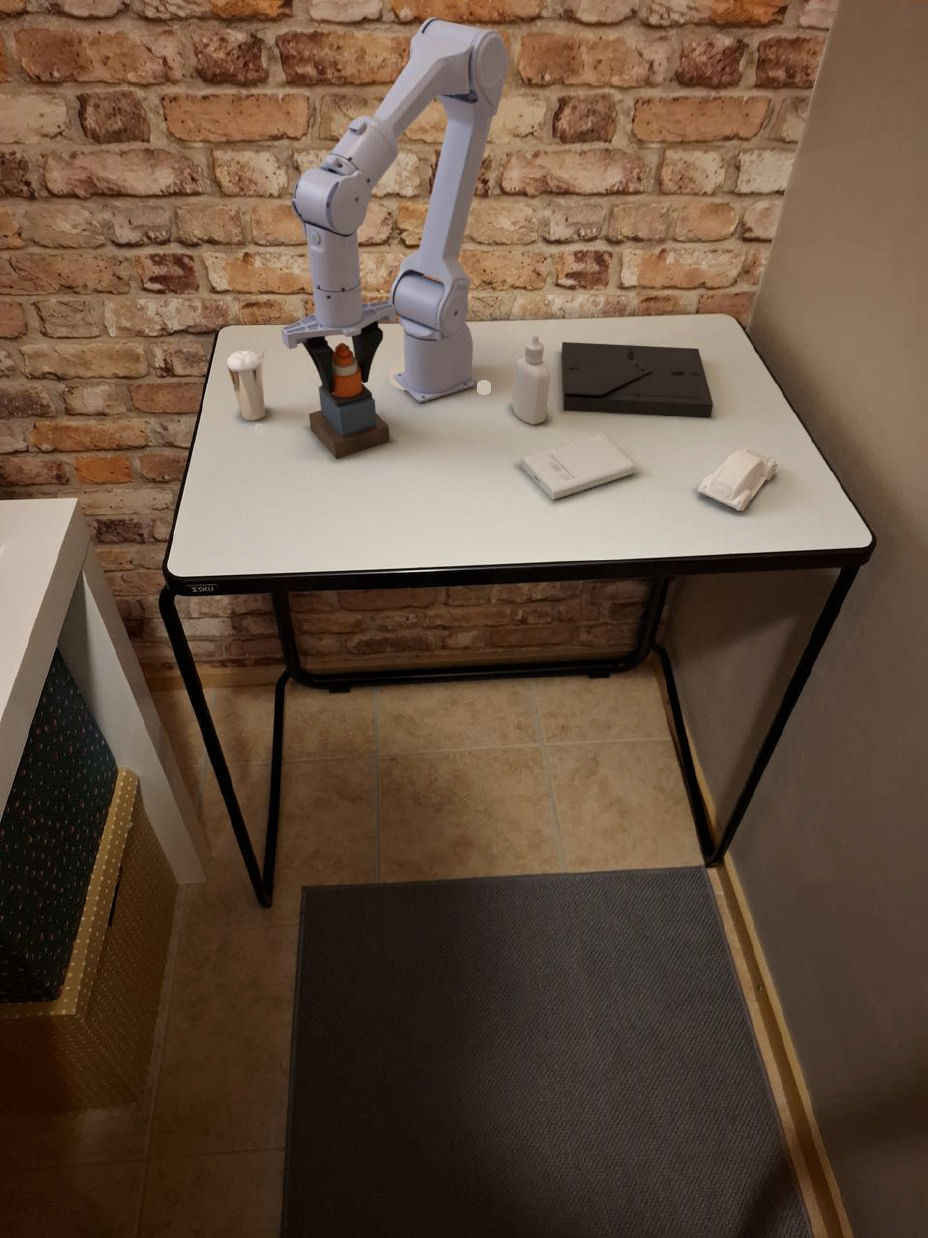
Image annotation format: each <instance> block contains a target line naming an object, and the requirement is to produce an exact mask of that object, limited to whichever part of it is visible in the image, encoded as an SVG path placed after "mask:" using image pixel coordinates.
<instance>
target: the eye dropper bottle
mask: <svg viewBox="0 0 928 1238" xmlns="http://www.w3.org/2000/svg"><path fill="white" fill-rule="evenodd" d="M539 338H540V337H539V335H538V334H536V333H535V334H532V337H531V340H530V341H528V342H526V343H525V347H524V355H523V356H521V357H519V358H518V359H516V361H515V365H514V377H513V388H512V389H513V391H512V404H511V406H512V411H513V412H514V414H515V415H516V417H518V418H519V419H520V420H521V421H523V422H525V423H527V424H529V425H538V424H540V423H544V422H545V421H546V418H547V417H546V416H547V410H548V400H549V392H550V391H549V390H550V381H551V380H550V378H551V374H550V370H549V368H548V366H547V364H546V362H544V359H543V358H544V351H545V350H544V348H545V346H544V344H543V343H542V342H541V341H540V340H539Z"/></svg>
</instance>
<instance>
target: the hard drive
mask: <svg viewBox="0 0 928 1238" xmlns="http://www.w3.org/2000/svg"><path fill="white" fill-rule="evenodd" d="M520 467H521V468H522V470H523V471H524V472H525V473H526V475H528V476H529V477H530V478H531V479H532V481H534V483H535V484H536V485H537V486H538V487H539V488H540V489H541V490H542V491H543V492H544V493H545V495H547V496H548V497H549V498H550V500H557V499H560V498H564V497H567V496H570V495H573V494H576V493H580V492H582V491H585V490H589V489H591V488H595V487H597V486H601V485H604V484H606V483H609V482H613V481H615V480H618V479H621V478H624V477H627V476H628V477H629V476H631V475H634V474H635V472H636V469H637V468H636V464H635V463H634V462H633V461H632V460H631V459H630V458H629V457H628V456H627V455H625V454H624V453H623V452H622V451H621V450H620V449H619V448H618V447H617V446H616V445H615V444H614V443H612V442H611V440H609V439H608V438H607V437H606V436H605V435H603V434H602V433H599V434H596V435H593V436H589V437H585V438H583V439H580V440H576V441H574V442H573V441H572V442H570V443H567V444H564V445H563V444H562V445H560V446H557V447H553V448H550V449H547V450H544V451H541V452H537V453H535V454H531V455H527V456H523V457H522V458H520Z"/></svg>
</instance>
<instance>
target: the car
mask: <svg viewBox="0 0 928 1238" xmlns="http://www.w3.org/2000/svg"><path fill="white" fill-rule="evenodd" d="M778 466H779V463H778V462H777V460H775V459H773V458H772V459H770V458H769V457H767V456H765V455H762V454H760V453H758V452H755V451H753V450H751V449H750V448H748V447H745V448H742V449H739V450H735V451H734V452H733V453H731V454H730V455H729V456H728V457H727V458H726V459H725V460H724V462H722V463H721V464H720V466H719V467H718V468H717V469H716V470H715V472H714V473H713V472H710V473H708V474H707V475H706V476H705V478H704V479H703V480H702V481H701V483H700V485H699V486H698V488H697V491H696V492H697V493H701V494H703V495H705V496H707V497H708V498H712V500H715V501H718V502H719V503H723V504H725V505H726V506H729V507H731V508H733V509H735V510H737V511H738V512H740V511H741V512H743V511H744V510H745V509H746V508H747V507H748V504H749V503H750V501H751V500H752V499H753V498H754V496H755V495H756V494H757V492H758V491H759V489H760V488H761V487H762V485H764V482H765V481H768V482H769V481H770V480H771V479H772V478H773V476H774V475H775V472H776V469H778Z"/></svg>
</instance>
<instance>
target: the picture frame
mask: <svg viewBox="0 0 928 1238" xmlns="http://www.w3.org/2000/svg"><path fill="white" fill-rule="evenodd" d="M560 360H561V361H560V364H561V384H562V385H561V386H562V409H563V411H573V412H574V411H577V412H594V413H595V412H597V413H615V414H635V415H636V414H637V415H655V416H674V417H675V416H676V417H693V418H694V417H695V418H711V415H712V411H713V407H714V402H713V399H712V398H713V397H712V395H711V391H710V387H709V383H708V379H707V376H706V373H705V368H704V365H703V361H702V357H701V354H700V349H699V348H695V347H694V348H692V347H674V346H673V347H672V346H652V345H651V346H650V345H630V344H612V343H610V344H609V343H591V342H569V341H562V343H561V351H560Z"/></svg>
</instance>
